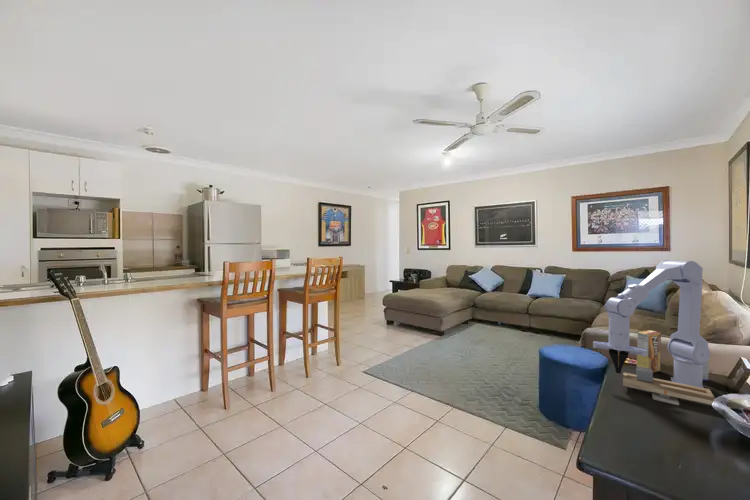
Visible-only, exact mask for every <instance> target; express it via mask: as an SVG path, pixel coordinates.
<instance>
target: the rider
mask: <svg viewBox="0 0 750 500" xmlns="http://www.w3.org/2000/svg"><path fill="white" fill-rule="evenodd" d="M635 371H636V374H635V375H636V376H637V380H642V381H647V382H651V383H653V378H654V372H653V371H652V369H649V368H644V367H638V366H637V365H636V370H635Z"/></svg>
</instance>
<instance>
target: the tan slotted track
mask: <svg viewBox="0 0 750 500" xmlns="http://www.w3.org/2000/svg"><path fill="white" fill-rule="evenodd" d="M622 374H623V377H622V386H624V387H628V388H632V389H633V388H634V389H637V390H642V391H647V392H651V395H652V397H651V398H652V399H653V400H655V401H658V402H662V403H668V404H672V405H677V406H680V402H679V398H680V399H682V400H683V399H684V400H688V401H693V402H698V403H702V404H707V405H711V406H713V405H712V403H713V402H714V403H715V396H714V394H713V393H712V391H711V389H710V388H706V387H705V388H701V387H696V386H691V385H686V384H681V383H676V382H672V381H671V380H665V379H660V378H654V377H653V383H651V382H647V381H642V380H637V376H636V374H635V373H630V372H625V371H623V373H622Z"/></svg>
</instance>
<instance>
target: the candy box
mask: <svg viewBox="0 0 750 500" xmlns="http://www.w3.org/2000/svg"><path fill="white" fill-rule="evenodd" d="M661 335H662V333H661V332H660V331H655V330H650V329H649V330H643V331H639V332H637V342H636V343H637V344H636V346H637V347H636V348H641V349H646V356H642V355H637V354H636V367H637V366H638V367H644V368H649V369H652V371H653V373H656V372H660V371H661V343H662V342H661V340H662V336H661Z"/></svg>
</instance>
